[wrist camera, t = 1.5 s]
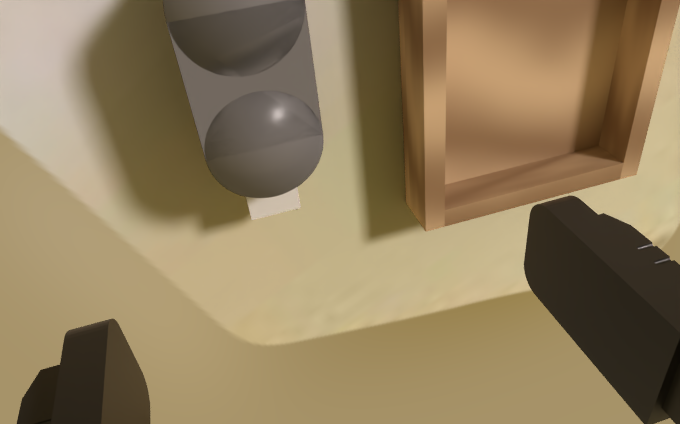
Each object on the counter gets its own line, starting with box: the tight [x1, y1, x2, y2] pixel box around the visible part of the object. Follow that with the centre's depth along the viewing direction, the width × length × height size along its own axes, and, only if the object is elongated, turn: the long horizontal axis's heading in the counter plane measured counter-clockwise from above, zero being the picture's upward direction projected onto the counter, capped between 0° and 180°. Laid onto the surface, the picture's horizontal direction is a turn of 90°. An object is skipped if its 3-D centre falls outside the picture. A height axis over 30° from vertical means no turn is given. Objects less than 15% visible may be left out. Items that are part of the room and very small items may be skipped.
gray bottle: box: [163, 0, 323, 220], centre depth 21 cm, size 14×4×4 cm, turn 7°
